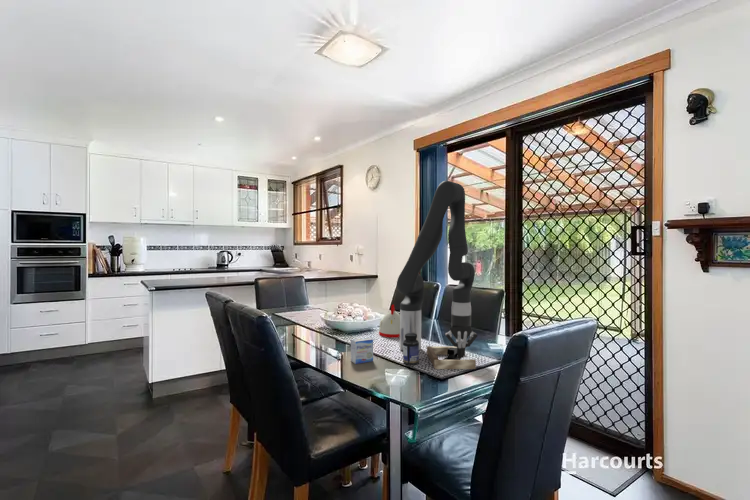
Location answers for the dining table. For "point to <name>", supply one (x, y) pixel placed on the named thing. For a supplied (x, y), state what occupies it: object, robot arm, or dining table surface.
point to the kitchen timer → (390, 324)
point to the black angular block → (452, 354)
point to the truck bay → (447, 364)
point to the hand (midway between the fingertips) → (460, 356)
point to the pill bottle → (411, 349)
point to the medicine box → (361, 350)
